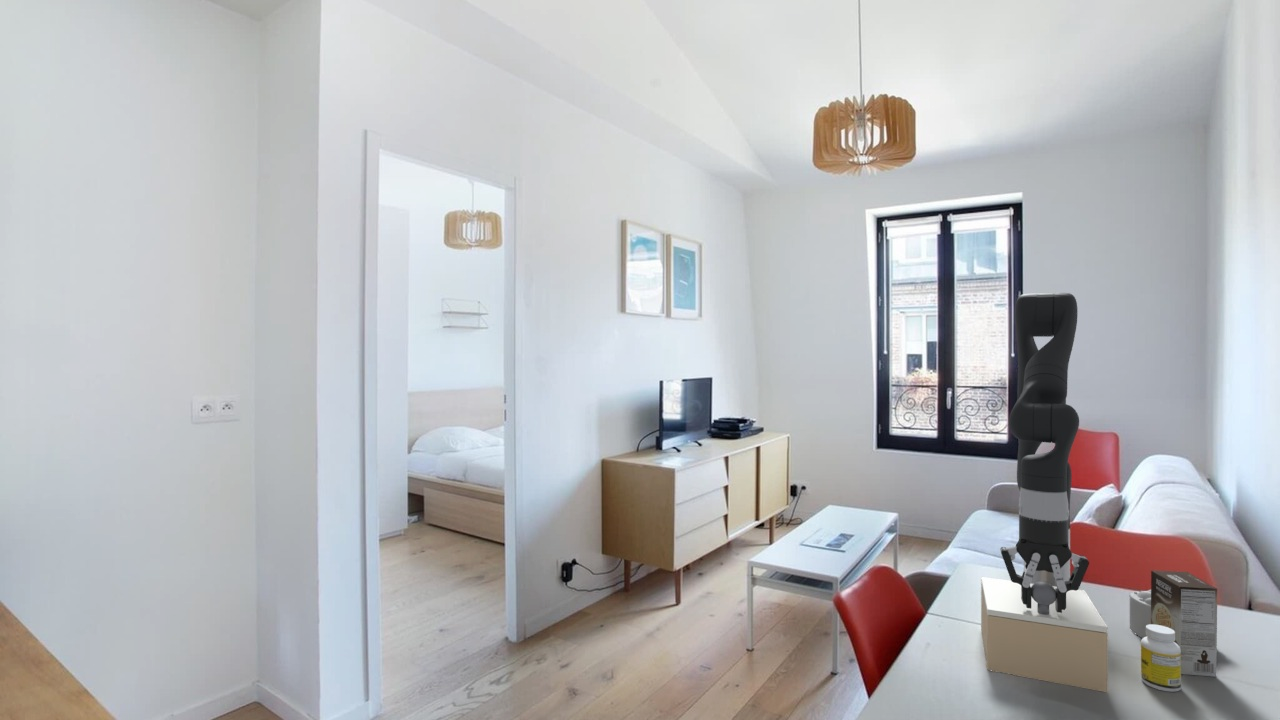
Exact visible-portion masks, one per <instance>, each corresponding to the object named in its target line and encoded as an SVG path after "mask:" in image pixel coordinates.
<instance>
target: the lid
mask: <svg viewBox="0 0 1280 720" xmlns="http://www.w3.org/2000/svg"><path fill="white" fill-rule="evenodd" d="M980 582H981V583H982V588H983V594H984V599H985V604H986V610H987V615H992V616H999V617H1005V618H1012V619H1018V620H1025V621H1032V622H1038V623H1045V624H1052V625H1058V626H1065V627H1072V628H1078V629H1085V630H1091V631H1098V632H1105V633H1107V634H1109V633H1108V626H1107V624H1106V622H1105V620H1104V619H1103V618H1102V616H1101V615H1100V613H1099V611H1098V610H1097V608H1096V606H1095V605H1094V603H1093V601H1092V600H1091V598H1090V597H1089V595H1088V594H1087V592H1086V590H1084V589H1080V588H1079V589H1078V590H1076V591H1075V590H1070V591H1068V592H1067V593H1066V609H1065V610H1062V613H1059V612H1057V611H1056V609H1055V600H1056V597H1057V594H1056V591H1055V588H1057V587H1055V586H1051V585H1050V584H1048V583H1046V582H1036V583H1034V584H1032V583H1031V584H1030V587H1031V609H1030V608H1026V605H1025V604H1023V602H1022V599H1021V585H1020V584H1018V583H1013V582H1012V581H1011V580H1008V579H1001V578H994V577H993V578H992V577H983V576H981V579H980ZM981 583H980V584H981Z"/></svg>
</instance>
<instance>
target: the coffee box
mask: <svg viewBox="0 0 1280 720" xmlns="http://www.w3.org/2000/svg"><path fill="white" fill-rule="evenodd" d="M1150 590H1151V624H1155V625H1161V626H1165V627H1168V628H1170V629H1172V630H1174V631H1175V641H1174V642H1175V643H1176V644H1178V646H1179V647H1180V650H1181V675H1188V676H1189V675H1191V676H1202V677H1211V678H1212V677H1213V678H1214V677H1215V678H1217V657H1218V655H1217V654H1218V653H1217V645H1218V644H1217V643H1218V641H1217V639H1218V638H1217V637H1218V636H1217V635H1218V588H1216V587H1215V586H1213V585H1211V584H1209V583H1207V582H1206V581H1204V580H1203V579H1200V578H1198V577H1197V576H1195V575H1193V574H1192V573H1189V572H1188V571H1175V570H1174V571H1172V570H1153V569H1152V570H1150Z"/></svg>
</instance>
